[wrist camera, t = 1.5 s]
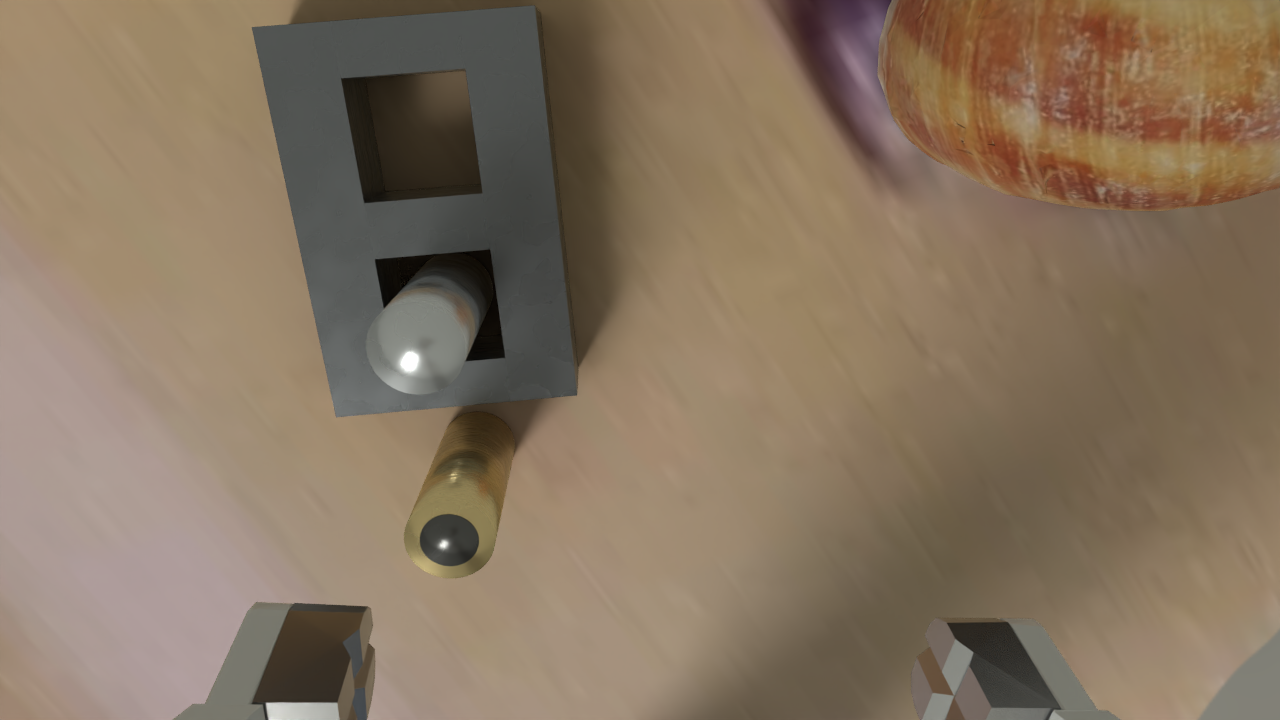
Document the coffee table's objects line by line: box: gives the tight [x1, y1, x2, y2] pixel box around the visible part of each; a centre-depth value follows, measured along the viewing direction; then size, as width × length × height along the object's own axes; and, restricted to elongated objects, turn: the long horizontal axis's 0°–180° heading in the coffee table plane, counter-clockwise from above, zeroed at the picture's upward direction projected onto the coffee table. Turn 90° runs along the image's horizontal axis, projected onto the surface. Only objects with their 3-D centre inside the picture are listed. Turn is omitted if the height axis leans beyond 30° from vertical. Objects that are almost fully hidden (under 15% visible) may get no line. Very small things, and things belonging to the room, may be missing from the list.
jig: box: [252, 5, 578, 417], centre depth 37 cm, size 18×12×10 cm, turn 4°
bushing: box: [404, 412, 515, 578], centre depth 41 cm, size 4×4×10 cm
